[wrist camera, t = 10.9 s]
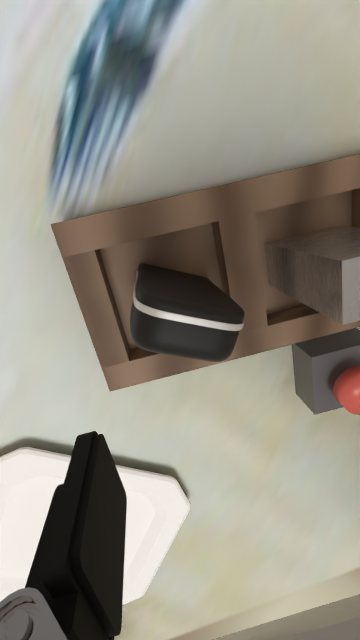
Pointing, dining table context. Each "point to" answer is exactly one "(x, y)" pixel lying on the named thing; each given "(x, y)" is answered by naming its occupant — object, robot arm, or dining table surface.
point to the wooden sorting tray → (225, 262)
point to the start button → (348, 389)
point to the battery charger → (183, 315)
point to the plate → (34, 501)
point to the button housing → (324, 367)
